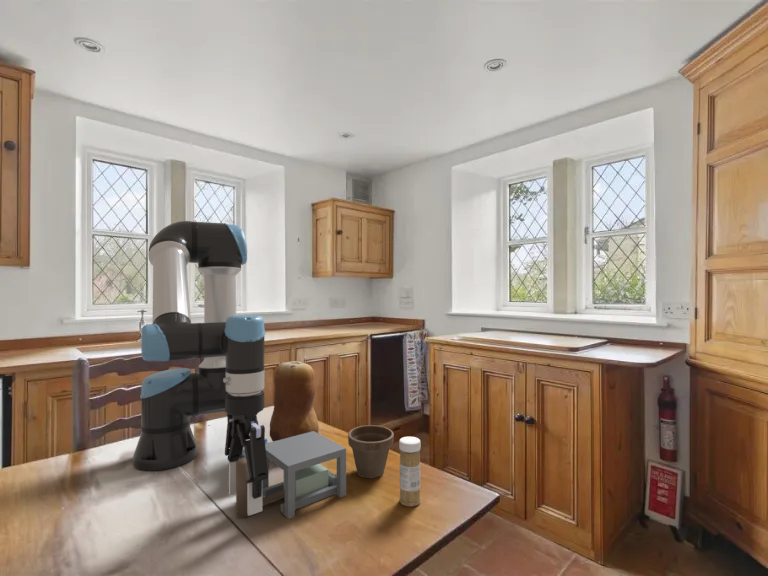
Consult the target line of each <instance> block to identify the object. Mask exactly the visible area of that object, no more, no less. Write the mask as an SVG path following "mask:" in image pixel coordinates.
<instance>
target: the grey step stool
mask: <svg viewBox="0 0 768 576" xmlns="http://www.w3.org/2000/svg"><path fill="white" fill-rule="evenodd" d="M265 447H266V458H267V468H268V479H265V480H262V497H265V496H268V495H271V494H273V493H276V492H279V491H282V490H284V481H282V482H279V483H276V484H272V485H270V486H269V474H270V473H269V468H270V467H269V465H270V463H269V461H271V462H272V463H274V464H275V465H276V466H277V467H279V468H280V469H281V470H283V471H285V497H284V502H283V503H281V504H280V513H281V514H282V515H284V516H285V518H287V520H288V519H291V518H295V517H296V510H298V509H301V508H303V507H306V506H308V505H311V504H313V503H316V502H318V501H320V500H321V501H322V500H324V499H326V498H329V497H331V496H333V495H336V496H337V497H338V498H340V499H342V498H344V497H346V496H347V448H346V447H345V446H343V445H341V444H339V443H337V442H336V441H333V440H332V439H330V438H328V437H325V436H323V435H322V434H321V433H319V432H318V433H317V432H315V431H312V432H308V433H304V434H300V435H297V436H293V437H289V438H285V439H281V440H277V441H270V442H267V443H266V444H265ZM331 460H336V474H334V473H333V472H332V471H330V470H328V487H326V488H324V489H321V490H318V491H316V492H313V493H310V494H308V495H305V496H302V497H300V498H297V499H295V471H298V470H301V469H304V468H307V467H311V466H314V465H317V464H324V463H326V462H329V461H331Z"/></svg>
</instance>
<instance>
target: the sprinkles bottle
mask: <svg viewBox="0 0 768 576" xmlns="http://www.w3.org/2000/svg"><path fill="white" fill-rule="evenodd" d="M398 445H399V447H398V448H399V489H400V490H399V502H400V504H401V505H403V506H405V507H409V508H410V507H416V506H418V505H420V503H421V459H420V458H421V453H420V452H421V447H422V446H421V439H419V438H418V437H415V436H403V437H401V438H400V439H399V443H398Z"/></svg>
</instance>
